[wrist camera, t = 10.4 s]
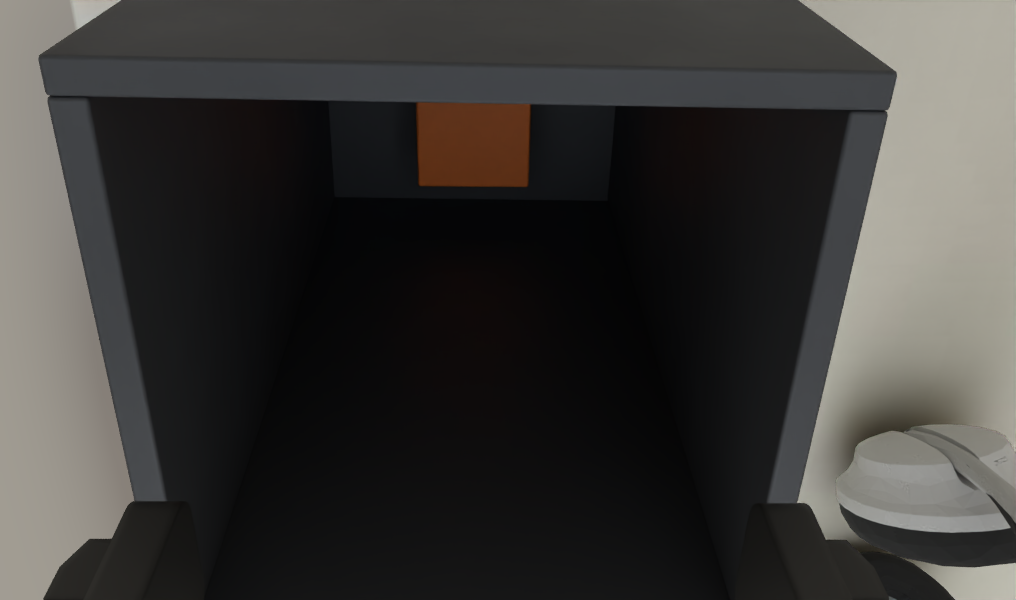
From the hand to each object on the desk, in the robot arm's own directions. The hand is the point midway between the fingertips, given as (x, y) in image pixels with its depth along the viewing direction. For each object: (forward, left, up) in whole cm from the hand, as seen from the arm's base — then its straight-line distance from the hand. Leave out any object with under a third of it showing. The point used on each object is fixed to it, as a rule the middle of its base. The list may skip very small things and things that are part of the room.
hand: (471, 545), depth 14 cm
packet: (0, 0, -25) cm, 25 cm away
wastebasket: (0, 0, -26) cm, 26 cm away
